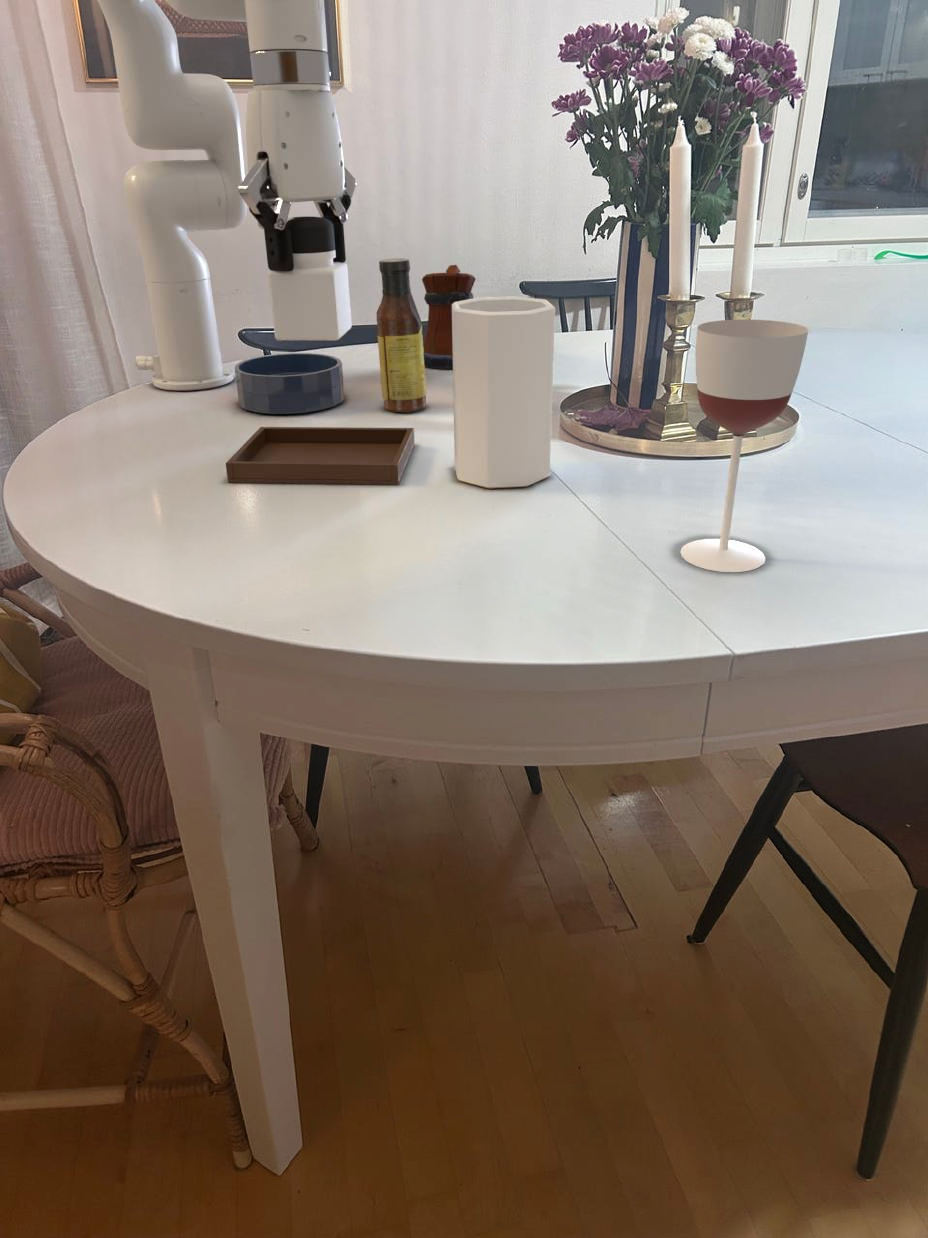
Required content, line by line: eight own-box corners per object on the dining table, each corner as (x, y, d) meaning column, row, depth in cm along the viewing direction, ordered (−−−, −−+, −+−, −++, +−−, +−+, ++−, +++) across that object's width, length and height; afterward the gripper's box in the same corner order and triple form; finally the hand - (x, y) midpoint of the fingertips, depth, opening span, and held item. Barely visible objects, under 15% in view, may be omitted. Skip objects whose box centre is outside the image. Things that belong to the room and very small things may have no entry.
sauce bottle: (435, 407, 129) (431, 258, 120) (404, 416, 125) (396, 263, 116) (404, 400, 133) (397, 255, 124) (372, 408, 129) (363, 259, 120)
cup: (482, 496, 97) (481, 316, 88) (436, 467, 105) (431, 301, 97) (569, 479, 101) (577, 306, 92) (518, 452, 110) (521, 292, 101)
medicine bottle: (352, 328, 104) (344, 214, 98) (338, 340, 97) (329, 219, 92) (291, 328, 104) (280, 214, 99) (274, 340, 98) (260, 220, 92)
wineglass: (663, 539, 86) (684, 321, 76) (753, 535, 86) (785, 317, 77) (689, 575, 79) (715, 339, 69) (786, 570, 79) (825, 335, 70)
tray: (228, 482, 102) (225, 463, 101) (262, 444, 114) (260, 426, 113) (398, 484, 100) (397, 464, 99) (414, 445, 113) (413, 427, 112)
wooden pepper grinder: (424, 347, 166) (421, 260, 159) (486, 347, 165) (486, 260, 158) (413, 369, 150) (409, 274, 143) (482, 369, 149) (482, 273, 142)
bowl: (226, 415, 127) (220, 376, 124) (256, 389, 140) (251, 352, 138) (332, 416, 126) (329, 376, 123) (352, 389, 139) (350, 353, 136)
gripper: (322, 80, 97) (335, 255, 106) (196, 73, 85) (223, 273, 93) (376, 77, 94) (385, 259, 102) (253, 69, 81) (275, 278, 89)
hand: (308, 264), depth 97 cm, fingers closed on medicine bottle, 7 cm apart
